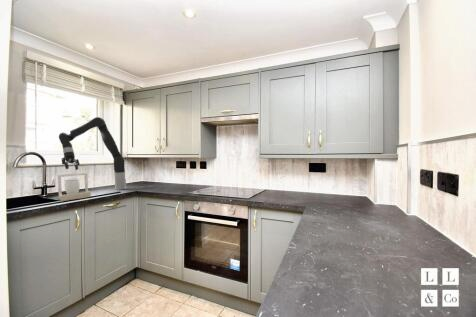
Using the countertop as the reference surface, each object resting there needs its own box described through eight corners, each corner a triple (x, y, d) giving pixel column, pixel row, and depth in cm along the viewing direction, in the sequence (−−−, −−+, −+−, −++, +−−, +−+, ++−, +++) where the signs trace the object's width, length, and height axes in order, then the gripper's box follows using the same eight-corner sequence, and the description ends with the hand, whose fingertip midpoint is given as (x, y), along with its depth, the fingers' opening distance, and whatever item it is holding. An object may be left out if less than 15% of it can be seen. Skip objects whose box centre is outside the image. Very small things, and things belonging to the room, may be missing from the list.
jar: (62, 196, 186) (61, 179, 185) (75, 194, 195) (74, 177, 195) (69, 197, 182) (68, 179, 181) (82, 194, 191) (81, 178, 191)
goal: (58, 198, 176) (57, 174, 176) (88, 194, 190) (86, 172, 190) (60, 200, 166) (58, 175, 166) (91, 196, 180) (90, 173, 180)
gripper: (63, 150, 189) (67, 166, 185) (79, 152, 202) (82, 168, 199) (57, 153, 190) (61, 170, 186) (73, 155, 204) (76, 171, 200)
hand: (72, 169), depth 193 cm, fingers open, 8 cm apart
